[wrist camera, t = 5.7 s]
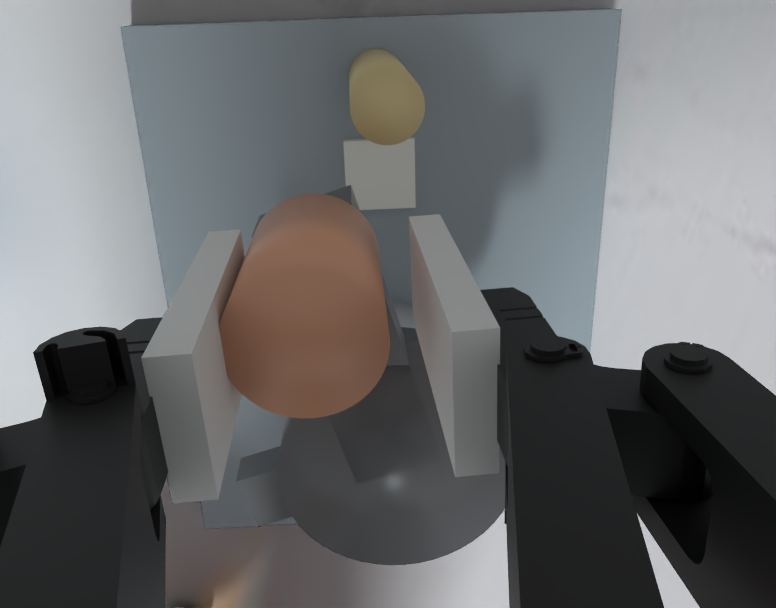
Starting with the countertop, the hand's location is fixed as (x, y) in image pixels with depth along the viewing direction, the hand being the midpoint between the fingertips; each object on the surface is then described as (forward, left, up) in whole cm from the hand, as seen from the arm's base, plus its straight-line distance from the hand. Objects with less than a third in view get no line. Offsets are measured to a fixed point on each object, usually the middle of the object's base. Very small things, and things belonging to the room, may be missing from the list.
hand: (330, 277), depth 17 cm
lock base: (-4, -2, -10) cm, 11 cm away
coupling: (-4, -1, -3) cm, 5 cm away
